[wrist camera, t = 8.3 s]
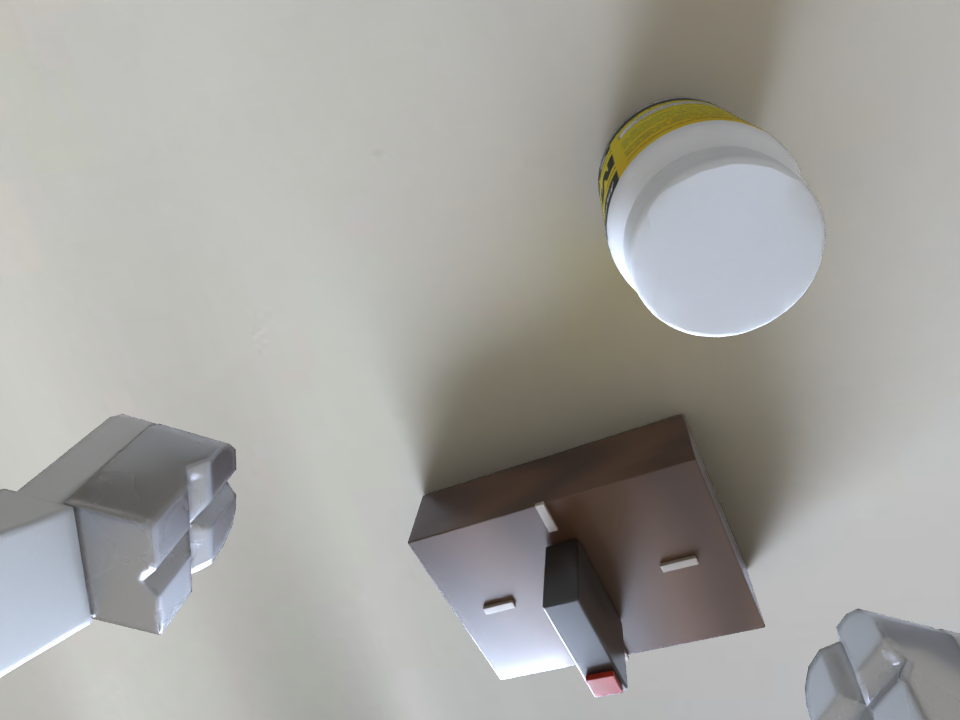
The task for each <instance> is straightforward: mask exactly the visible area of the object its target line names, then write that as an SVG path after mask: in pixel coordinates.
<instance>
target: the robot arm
mask: <svg viewBox="0 0 960 720" xmlns="http://www.w3.org/2000/svg"><path fill="white" fill-rule="evenodd" d="M235 470H236V449H235V448H234V447H232V446H231V445H230V444H228V443H224V442H221V441H217V440H214V439H210V438H207V437H203V436H200V435H197V434H193V433H190V432H186V431H183V430H179V429H176V428H172V427H169V426H165V425H162V424H155V423H152V422H148V421H145V420H141V419H138V418H135V417H131V416H128V415H124V414H121V415H117V416H113V417H110V418H108V419H107V420H106V421H104V422H103V423H102V424H101V425H99V426H98V427H97V428H96V429H94V430H93V431H92V432H91V433H89V434H88V435H87V436H86V437H84V438H83V439H82V440H81V441H79V442H78V443H77V444H76V445H74V446H73V447H72V448H71V449H69V450H68V451H67V452H66V453H64V454H63V455H62V456H61V457H59V458H58V459H57V460H56V461H54V462H53V463H52V464H51V465H49V466H48V467H47V468H46V469H44V470H43V471H42V472H41V473H39V474H38V475H37V476H36V477H34V478H33V479H32V480H31V481H29V482H28V483H27V484H26V485H24V486H23V487H22V488H21V489H19V490H18V491H17V492H16V491H12V490H8V489H1V490H0V677H1V676H3V675H5V674H6V673H8V672H10V671H11V670H13V669H15V668H16V667H18V666H20V665H22V664H23V663H25V662H27V661H28V660H30V659H32V658H33V657H35V656H37V655H38V654H40V653H42V652H43V651H45V650H47V649H48V648H50V647H52V646H54V645H55V644H57V643H59V642H60V641H62V640H64V639H65V638H67V637H69V636H70V635H72V634H74V633H75V632H77V631H79V630H80V629H82V628H84V627H86V626H87V625H89V624H91V622H92V619H96V620H100V621H104V622H108V623H112V624H117V625H121V626H125V627H129V628H133V629H137V630H141V631H145V632H150V633H154V634H158V635H161V634H162V632H163V631H164V630H165V628H166V627H167V625H168V624H169V623H170V621H171V620H172V618H173V617H174V616H175V614H176V613H177V611H178V610H179V609H180V607H181V606H182V604H183V603H184V602H185V600H186V599H187V597H188V596H189V595H190V593H191V592H192V573H194V572H196V571H198V570H200V569H202V568H204V567H206V566H208V565H210V564H211V563H212V562H213V561H214V559H215V558H216V556H217V555H218V553H219V552H220V550H221V549H222V547H223V545H224V543H225V541H226V538H227V536H228V534H229V531H230V529H231V527H232V524H233V519H234V514H235V509H236V494H235V493H234V491H233V490H232V488H231V487H230V485H229V484H228V482H227V480H228V479H229V478H230V476H231V475H232V474H233V473H234V471H235ZM91 618H92V619H91ZM836 628H837V632H838V635H839V639H840V641H839V642H837V643H835V644H832V645H830V646H827V647H825V648H822V649H820V650H819V651H818V653H817V654H816V656H815V657H814V659H813V661H812V662H811V664H810V665H809V667H808V673H807V678H806V684H805V694H806V703H807V708H808V712H809V715H810V718H811V720H960V634H959V633H955V632H951V631H947V630H943V629H935V628H933V627H929V626H925V625H921V624H917V623H913V622H909V621H905V620H901V619H897V618H893V617H890V616H886V615H882V614H878V613H874V612H870V611H866V610H862V609H856V610H854V611H852V612H850V613H848V614H846V615H845V617H844V618H843V619H842V620H841V622H840V623H839V624H838V626H837V627H836Z"/></svg>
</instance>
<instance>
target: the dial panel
mask: <svg viewBox="0 0 960 720" xmlns="http://www.w3.org/2000/svg"><path fill="white" fill-rule="evenodd" d="M576 539H578V541H579V542H580V544H581V546H582V548H583V550H584V552H585V554H586V556H587V558H588V559H589V561H590V563H591V565H592V567H593V569H594V571H595V573H596V575H597V577H598V579H599V580H600V582H601V584H602V586H603V588H604V590H605V592H606V594H607V596H608V598H609V600H610V601H611V603H612V605H613V607H614V609H615V611H616V613H617V615H618V617H619V619H620V621H621V622H622V628H623V640H624V652H625V661H626V660H629V656H628V655H629V654H634V653H639V652H644V651H649V650H654V649H659V648H664V647H669V646H674V645H679V644H684V643H689V642H694V641H699V640H704V639H709V638H714V637H719V636H724V635H729V634H734V633H739V632H744V631H749V630H754V629H759V628H764V627H765V624H764V621H763V618H762V614H761V611H760V608H759V605H758V602H757V599H756V596H755V593H754V590H753V587H752V584H751V581H750V578H749V575H748V572H747V569H746V567H745V564H744V562H743V559H742V557H741V555H740V552H739V550H738V547H737V545H736V542H735V540H734V537H733V535H732V533H731V530H730V528H729V525H728V523H727V520H726V518H725V515H724V513H723V511H722V508H721V506H720V503H719V501H718V498H717V496H716V493H715V491H714V489H713V486H712V484H711V481H710V479H709V476H708V474H707V471H706V469H705V467H704V464H703V462H702V459H701V457H700V454H699V452H698V449H697V447H696V444H695V442H694V440H693V437H692V435H691V432H690V430H689V427H688V425H687V422H686V420H685V418H684V415H683V414H681V415H678V416H675V417H672V418H668V419H665V420H662V421H659V422H656V423H653V424H650V425H646V426H643V427H640V428H637V429H634V430H631V431H627V432H624V433H621V434H618V435H615V436H612V437H608V438H605V439H602V440H599V441H596V442H593V443H589V444H586V445H583V446H580V447H577V448H574V449H571V450H567V451H564V452H561V453H558V454H555V455H552V456H548V457H545V458H542V459H539V460H536V461H533V462H529V463H526V464H523V465H520V466H517V467H514V468H510V469H507V470H504V471H501V472H498V473H495V474H492V475H488V476H485V477H482V478H479V479H476V480H473V481H469V482H466V483H463V484H460V485H457V486H454V487H450V488H447V489H444V490H441V491H438V492H435V493H431V494H428V495H425V496H423V498H422V501H421V504H420V507H419V510H418V513H417V516H416V519H415V522H414V525H413V528H412V531H411V535H410V538H409V541H408V544H409V545H410V547H411V548H412V550H413V551H414V553H415V554H416V556H417V557H418V559H419V560H420V562H421V563H422V565H423V566H424V568H425V569H426V571H427V572H428V573H429V575H430V576H431V578H432V579H433V581H434V582H435V584H436V585H437V587H438V588H439V590H440V591H441V593H442V594H443V596H444V597H445V599H446V600H447V601H448V603H449V604H450V606H451V607H452V609H453V610H454V612H455V613H456V615H457V616H458V618H459V619H460V621H461V622H462V624H463V625H464V627H465V628H466V629H467V631H468V632H469V634H470V635H471V637H472V638H473V640H474V641H475V643H476V644H477V646H478V647H479V649H480V650H481V652H482V653H483V655H484V656H485V657H486V659H487V660H488V662H489V663H490V665H491V666H492V668H493V669H494V671H495V672H496V674H497V675H498V677H499V678H500V680H503V679H508V678H513V677H518V676H524V675H529V674H534V673H539V672H544V671H549V670H554V669H559V668H564V667H569V666H574V665H576V664H575V662H574V660H573V659H572V657H571V655H570V653H569V652H568V650H567V648H566V647H565V645H564V643H563V642H562V640H561V638H560V636H559V635H558V633H557V631H556V630H555V628H554V626H553V624H552V623H551V621H550V619H549V618H548V616H547V614H546V613H545V611H544V609H543V588H544V570H545V551H546V547H549V546H552V545H556V544H560V543H564V542H568V541H572V540H576Z"/></svg>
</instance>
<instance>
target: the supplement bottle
mask: <svg viewBox="0 0 960 720" xmlns="http://www.w3.org/2000/svg"><path fill="white" fill-rule="evenodd" d="M598 184H599V195H600V200H601V205H602V211H603V216H604V221H605V227H606V235H607V240H608V245H609V248H610V251H611V254H612V257H613V259H614V262H615V264H616V266H617V268H618V269H619V271H620V273H621V274H622V276H623V277H624V278H625V280H626V281H627V282H628V283H629V285H630V286H631V287H632V288H633V289H634V290H636V291H637V293H638V295H639V297H640V298H641V300H642V301H643V303H644V304H645V305H646V307H647V308H648V309H649V310H650V311H651V312H652V313H653V314H654V315H655V316H656V317H657V318H658V319H660V320H661V321H662V322H664V323H666V324H667V325H669V326H671V327H673V328H675V329H677V330H680V331H682V332H685V333H688V334H692V335H697V336H706V337H724V336H732V335H737V334H741V333H745V332H749V331H751V330H754V329H756V328H759V327H761V326H763V325H765V324H767V323H769V322H771V321H772V320H774V319H776V318H777V317H779V316H780V315H781V314H783V313H784V312H785V311H787V310H788V309H789V308H790V307H791V306H793V305H794V304H795V303H796V302H797V301H798V300H799V299H800V297H801V296H802V295H803V294H804V293H805V291H806V290H807V289H808V287H809V285H810V284H811V282H812V281H813V279H814V277H815V275H816V273H817V271H818V269H819V266H820V263H821V260H822V257H823V252H824V246H825V235H826V234H825V224H824V219H823V215H822V210H821V208H820V205H819V203H818V200H817V199H816V197H815V195H814V193H813V192H812V191H811V189H810V188H809V187H808V186H807V184H806V183H805V182H804V180H803V177H802V175H801V173H800V170H799V168H798V166H797V164H796V162H795V160H794V159H793V157H792V156H791V154H790V153H789V152H788V150H787V149H786V148H785V147H784V146H783V145H782V144H781V143H780V142H779V141H778V140H777V139H776V138H774V137H773V136H772V135H770V134H769V133H767V132H766V131H764V130H762V129H760V128H758V127H756V126H754V125H751V124H749V123H747V122H745V121H744V120H742V119H740V118H738V117H736V116H734V115H732V114H730V113H729V112H727V111H725V110H723V109H721V108H720V107H718V106H716V105H714V104H711V103H709V102H706V101H703V100H700V99H695V98H686V97H680V98H669V99H664V100H661V101H657V102H654V103H652V104H649V105H647V106H645V107H643V108H642V109H640V110H638V111H637V112H635V113H634V114H632V115H631V116H630V117H629V118H628V119H626V120H625V121H624V122H623V123H622V124H621V125H620V127H619V128H618V129H617V130H616V131H615V133H614V134H613V135H612V137H611V139H610V140H609V142H608V144H607V146H606V148H605V151H604V153H603V156H602V159H601V163H600V168H599V178H598Z"/></svg>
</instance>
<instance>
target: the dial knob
mask: <svg viewBox="0 0 960 720" xmlns="http://www.w3.org/2000/svg"><path fill="white" fill-rule="evenodd" d="M543 609H544V611H545V613H546V614H547V616H548V618H549V619H550V621H551V623H552V624H553V626H554V628H555V630H556V631H557V633H558V635H559V636H560V638H561V640H562V642H563V643H564V645H565V647H566V648H567V650H568V652H569V653H570V655H571V657H572V659H573V660H574V662H575V664H576V665H577V667H578V669H579V671H580V672H581V674H582V676H583V677H584V679H585V681H586V682H587V684H588V686H589V688H590V689H591V691H592V693H593V694H594V696H595V697H600V696H605V695H611V694H617V693H622V692H623V689H626V688H627V676H626V664H625V652H624V640H623V628H622V622H621V621H620V619H619V617H618V615H617V613H616V611H615V609H614V607H613V605H612V603H611V601H610V600H609V598H608V596H607V594H606V592H605V590H604V588H603V586H602V584H601V582H600V580H599V579H598V577H597V575H596V573H595V571H594V569H593V567H592V565H591V563H590V561H589V559H588V558H587V556H586V554H585V552H584V550H583V548H582V546H581V544H580V542H579V541H578V539H576V540H572V541H568V542H564V543H560V544H556V545H552V546H549V547H546V551H545V570H544V588H543Z"/></svg>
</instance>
